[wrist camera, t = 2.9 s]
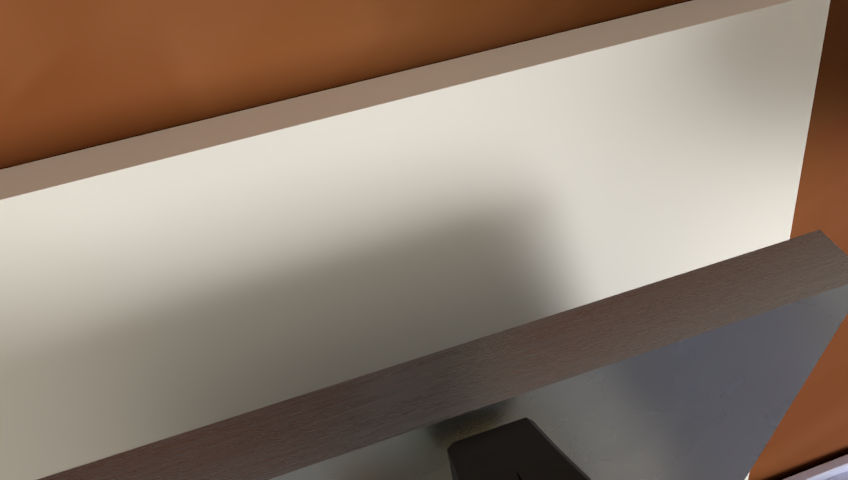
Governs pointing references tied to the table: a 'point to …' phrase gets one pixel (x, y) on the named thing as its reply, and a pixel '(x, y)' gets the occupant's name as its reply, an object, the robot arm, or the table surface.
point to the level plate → (557, 387)
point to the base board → (388, 220)
